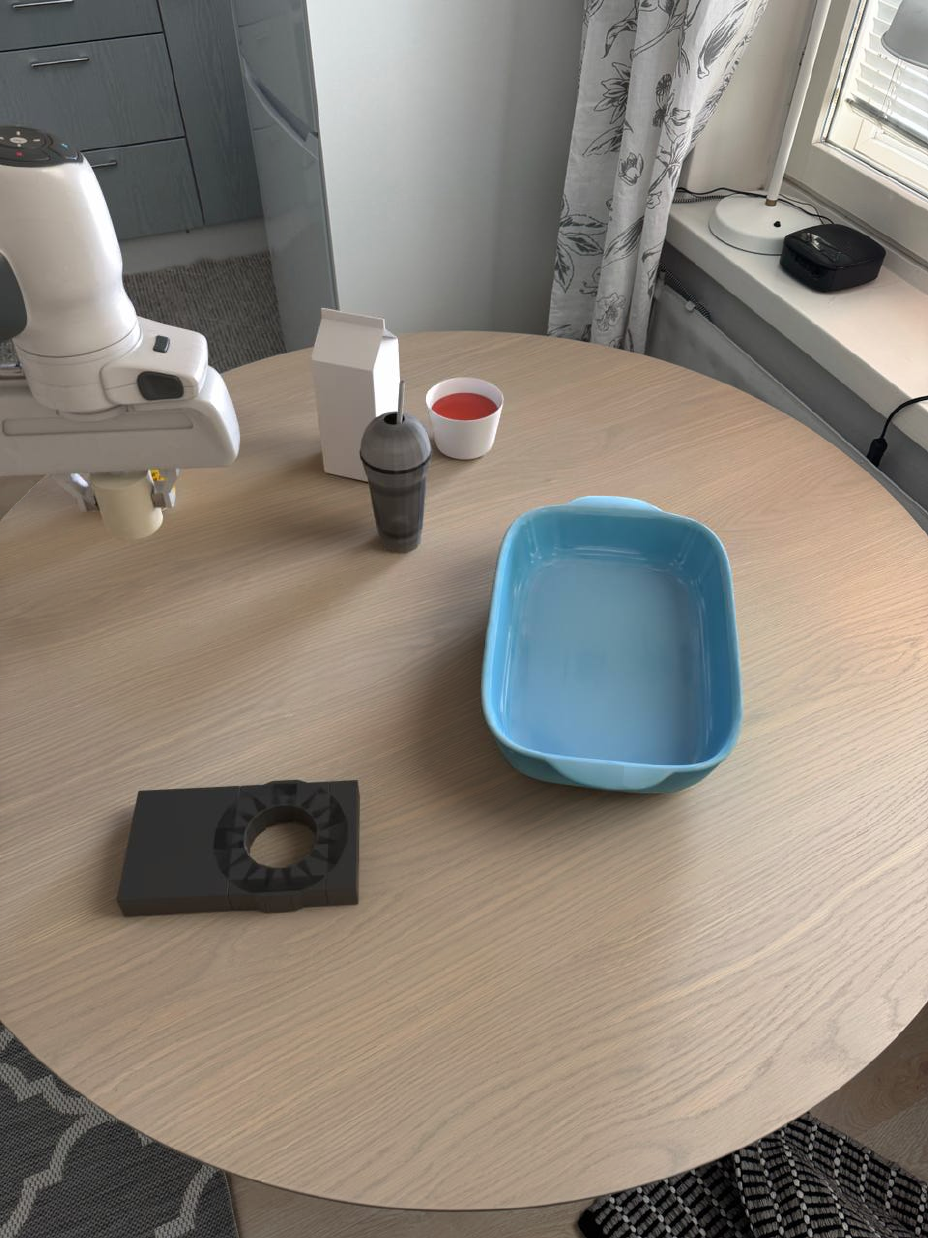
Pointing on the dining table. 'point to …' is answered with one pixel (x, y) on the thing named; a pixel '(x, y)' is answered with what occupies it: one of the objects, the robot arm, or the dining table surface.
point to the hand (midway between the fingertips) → (129, 505)
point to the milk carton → (352, 385)
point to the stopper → (126, 503)
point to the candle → (464, 416)
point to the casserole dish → (612, 647)
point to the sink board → (239, 849)
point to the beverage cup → (397, 476)
